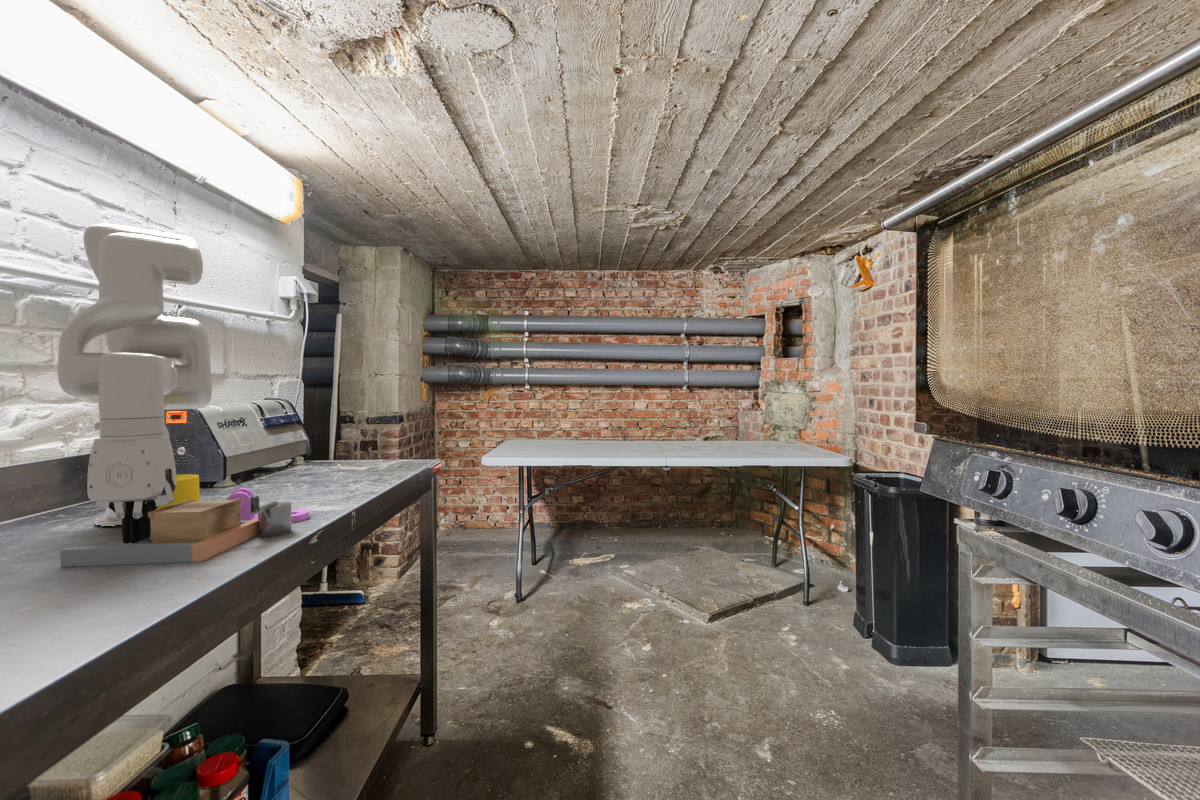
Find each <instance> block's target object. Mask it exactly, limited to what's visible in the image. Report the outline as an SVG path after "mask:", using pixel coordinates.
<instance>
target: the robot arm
mask: <svg viewBox="0 0 1200 800" xmlns="http://www.w3.org/2000/svg"><path fill="white" fill-rule="evenodd" d="M83 245H84V250H85V255H86V257H87V260H88V264H89V265H90V267H91V269H92V271H93V273H94V275H95V277H96V279H97V281H98V301H96V302H94V303H93V304H91V305H90V306H88V307H86V308H84V309H83V310H81V311H80V312H79V313H77V314H76V315H74V317H72V319H70V320H69V321H68V323H67V324H66V325H65V326H64V327H63V330H62V332H61V334H60V336H59V341H58V355H57V378H58V385H59V387H60V388H61V390H62V391H63V392H64V393H66V394H68V395H69V396H71V397H75V398H82V399H88V398H89V399H94V398H95V399H97V398H98V418H99V422H95V424H94V426H93V428H94V430H95V431H97V432H98V431H99V438H95V439H94V440H93V442H92V446H91V450H90V455H89V460H88V466H87V484H86V485H87V486H86V487H87V489H86V490H87V491H86V492H87V496H88V499H89V500H90V501H94V502H95V506H97V507H100V508H105V513H106V514H103V515H99V516H98V517H95V518H94V525H95V524H96V525H95V526H97V525H101V526H100V527H103V526H111V525H122V526H121V534H122V535H121V536H122V545H135V544H139V543H141V542H143V541H147V540H146V539H149V538H150V532H151V526H150V517H149V518H148V512H151V511H154V510H156V509H157V508H158V507H159V506H161V505H165V504H169V503H172V502H173V501H174V497H173V492H174V491H175V489H176V475H177V470H176V460H175V456H174V451H173V446H172V442H171V439H170V432H169V429H168V428H167V427H166V425H165V424H166V423H165V422H166V420H165V411H167V410H169V411H170V410H171V411H172V410H173V411H174V410H195V409H202V408H205V407H207V406H209V404H210V402H211V400H212V396H213V395H212V394H213V384H212V383H213V382H212V368H211V367H212V366H211V354H210V352H211V351H210V341H209V334H208V331H207V329H206V327H205V325H204V324H203V323H202V322H200V321H199V320H197V319H194V318H193V319H192V318H189V317H178V316H165V315H163V313H164V311H165V310H164V309H165V307H164V305H165V304H164V287H163V286H164V285H163V283H168V284H169V283H170V284H178V285H187V286H188V285H190V286H192V285H193V286H194V285H197V284H198V283H199V282H200V281H201V280H202V277H203V274H204V273H203V272H204V263H203V258H202V257H203V256H202V253H201V250H200V248H199V245H198V244H197V241H196V240H195V239H193V238H192V237H189V236H186V235H180V234H176V233H171V232H162V231H158V230H151V229H147V228H146V229H145V228H140V227H134V226H128V225H120V224H111V223H110V224H109V223H100V224H99V223H97V224H93V225H90V226H88V227H86V229H85V230H84V233H83ZM103 334H105V338H106V339H105V342H106V346H107V349H108V351H109V352H85V351H84V350H85V347H86V346H87V345H88V343H89V342H91V340H93V339H95V338H96V337H98V336H101V335H103ZM172 362H179V363H180V364H173V363H172ZM157 495H159V497H158V499H157ZM145 502H146V503H145Z"/></svg>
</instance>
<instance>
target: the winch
mask: <svg viewBox="0 0 1200 800" xmlns="http://www.w3.org/2000/svg"><path fill="white" fill-rule="evenodd" d="M250 502H251V509H250V514H258V535H257V536H258V537H259V536H261V537H260V538H273V537H272V536H275V537H280V536H284V535H287V534H289V532H290V531H291V532H292V531H293V526H292V525H293V523H292V519H291V511H292V502H289V501H283V502H278V500H271V501H269V502H266V503H263V504H261V505H260V496H259V495H256V496H253V497H250ZM291 532H290V533H291ZM286 533H287V534H286ZM283 534H284V535H283ZM279 535H280V536H279Z"/></svg>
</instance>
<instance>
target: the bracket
mask: <svg viewBox="0 0 1200 800" xmlns="http://www.w3.org/2000/svg"><path fill="white" fill-rule="evenodd" d="M254 495H255V494H254V492H253V491H252V490H251V489H249V488H247V487H241V488H237V489H234V491H232V492H231V494H230V495H229V496H228V497H227V498H226V500H235V499H238V498H242V503H240V520H258V514H250V509H251V502H250V497H253V496H254ZM307 518H308V519H309V518H310V511H309V510H308V509H293V510H292V509H291V519H292V522H294V523H297V522H296V521H299V522H302V521H301V520H303V521H305V520H304V519H306V520H308V519H307Z"/></svg>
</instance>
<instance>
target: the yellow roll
mask: <svg viewBox="0 0 1200 800" xmlns="http://www.w3.org/2000/svg"><path fill="white" fill-rule="evenodd" d="M200 493H201V492H200V475H199V474H193V473H188V474H187V473H185V474H182V473H181V474H176V489H175V491H174V492H173V497H174V501H173V502H172V503H169V504H165V505H161V506H159V507H158V508H157V509H156V510H158V509H161V508H164V507H168V506H171V505H175V504H178V503H181V502H185V501H188V500H194V501H201V499H200V498H201V497H200V496H201V495H200ZM158 497H159V495H157V499H158ZM145 503H146V502H145ZM150 523H151V518H150Z"/></svg>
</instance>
